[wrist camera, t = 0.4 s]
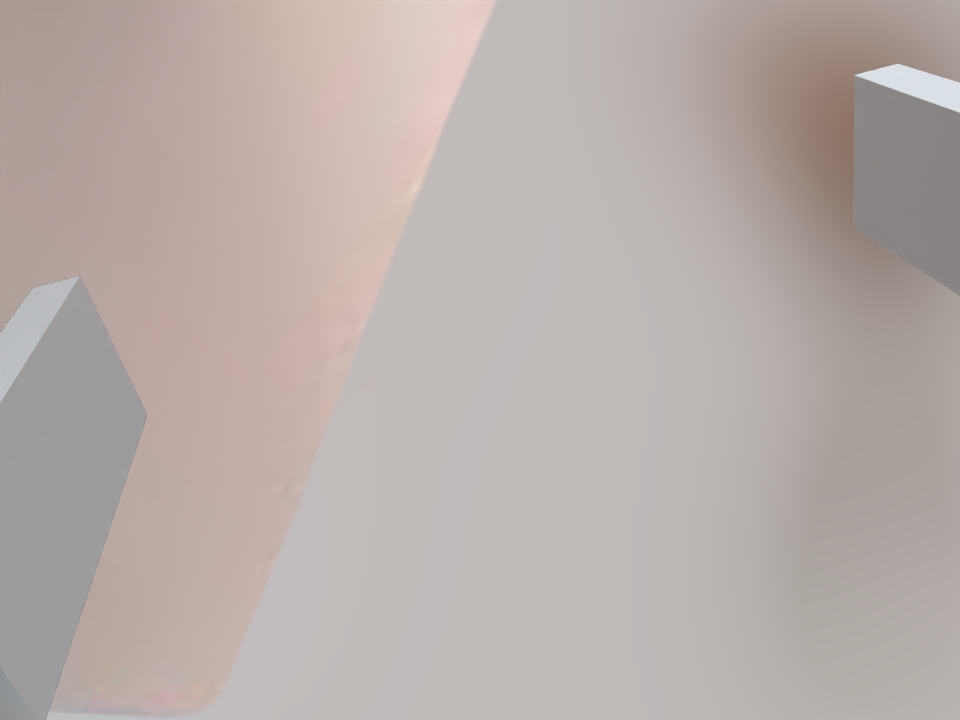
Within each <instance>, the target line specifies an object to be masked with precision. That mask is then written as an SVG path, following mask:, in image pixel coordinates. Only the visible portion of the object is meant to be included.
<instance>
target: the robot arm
mask: <svg viewBox="0 0 960 720" xmlns="http://www.w3.org/2000/svg"><path fill="white" fill-rule="evenodd" d="M854 228H855V229H857V230H858V231H860V232H862V233H863V234H865V235H866V236H868V237H869V238H871V239H872V240H874V241H876V242H877V243H879V244H880V245H882V246H883V247H885V248H886V249H888V250H890V251H891V252H893V253H894V254H896V255H897V256H899V257H901V258H902V259H904V260H905V261H907V262H908V263H910V264H911V265H913V266H914V267H916V268H918V269H919V270H921V271H922V272H924V273H925V274H927V275H929V276H930V277H932V278H933V279H935V280H936V281H938V282H940V283H941V284H943V285H944V286H946V287H948V288H949V289H950V290H952V291H953V292H955V293H957V294H958V295H960V83H958V82H955V81H952V80H948V79H945V78H942V77H939V76H936V75H932V74H929V73H926V72H923V71H920V70H916V69H913V68H910V67H907V66H903V65H900V64H896V65H892V66H888V67H884V68H880V69H877V70H872V71H868V72H865V73H861V74H857V75H854ZM146 418H147V413H146V411H145V409H144V407H143V405H142V403H141V401H140V399H139V397H138V395H137V393H136V391H135V389H134V386H133V384H132V382H131V380H130V378H129V376H128V374H127V372H126V370H125V368H124V366H123V364H122V362H121V360H120V358H119V355H118V353H117V351H116V349H115V347H114V345H113V343H112V341H111V339H110V337H109V335H108V333H107V331H106V329H105V327H104V325H103V322H102V320H101V318H100V316H99V314H98V312H97V310H96V308H95V306H94V304H93V302H92V300H91V298H90V296H89V294H88V292H87V289H86V287H85V285H84V283H83V281H82V279H81V277H80V276H77V277H74V278H70V279H66V280H62V281H58V282H54V283H50V284H46V285H43V286H39V287H35V288H33V289H32V290H31V292H30V293H29V294H28V296H27V297H26V299H25V300H24V301H23V303H22V304H21V306H20V307H19V308H18V310H17V311H16V312H15V314H14V315H13V317H12V318H11V319H10V321H9V322H8V323H7V325H6V326H5V328H4V329H3V330H2V332H1V333H0V720H46V717H47V714H48V711H49V708H50V705H51V702H52V699H53V696H54V693H55V690H56V687H57V684H58V681H59V678H60V675H61V672H62V669H63V666H64V663H65V660H66V657H67V654H68V651H69V648H70V646H71V643H72V640H73V637H74V634H75V631H76V628H77V625H78V622H79V619H80V616H81V613H82V610H83V607H84V604H85V601H86V598H87V595H88V592H89V589H90V586H91V583H92V580H93V577H94V574H95V571H96V568H97V565H98V562H99V559H100V556H101V553H102V550H103V547H104V544H105V541H106V538H107V535H108V532H109V529H110V526H111V523H112V520H113V517H114V514H115V511H116V508H117V505H118V502H119V499H120V496H121V493H122V490H123V487H124V484H125V481H126V478H127V475H128V472H129V469H130V466H131V463H132V460H133V457H134V454H135V451H136V448H137V445H138V442H139V439H140V436H141V433H142V430H143V427H144V424H145V421H146Z"/></svg>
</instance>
